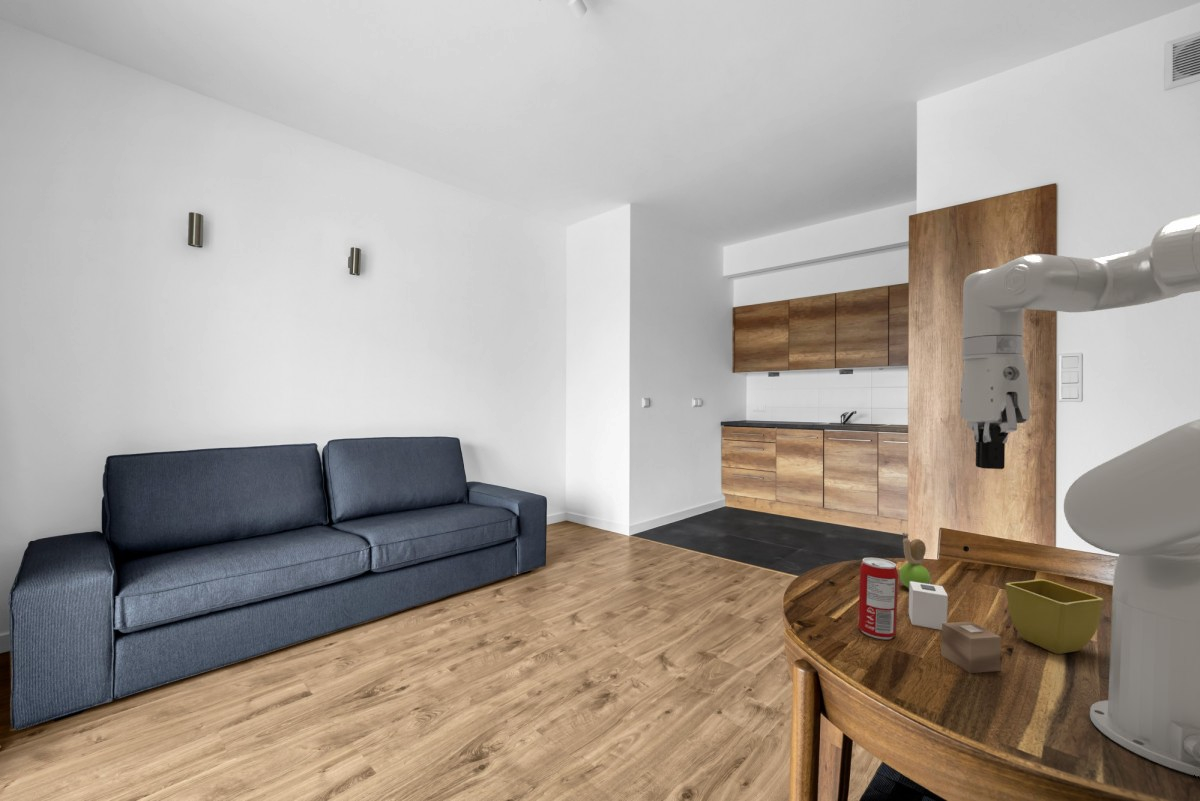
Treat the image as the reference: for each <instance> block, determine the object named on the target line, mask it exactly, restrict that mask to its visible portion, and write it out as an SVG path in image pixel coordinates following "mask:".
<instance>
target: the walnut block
mask: <svg viewBox="0 0 1200 801" xmlns="http://www.w3.org/2000/svg"><path fill="white" fill-rule="evenodd" d="M940 642H941V646H940V648H941V649H940V656H941V657H943V658H945V659H946V660H948V661H949V662H951V663H953V664H954V665H956V666H958V667H959V668H962V669H963V670H965V671H966V672H968V673H969V674H973V673H975V674H977V673H986V672H988V673H989V672H999V671H1001V655H1002V654H1001V650H1002V648H1001V647H1002V636H1000V635H998V634H996V633H994V632H992V631H990V630H988V629H986V628H984V627H982V626H981V625H978V624H976V623H975V622H972V621H959V622H958V621H956V622H947V623H942V630H941V641H940Z"/></svg>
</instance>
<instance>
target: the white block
mask: <svg viewBox="0 0 1200 801" xmlns="http://www.w3.org/2000/svg"><path fill="white" fill-rule="evenodd" d="M948 598H949V596H948V593H947V592H946V590H945V588H944V587H943V585H936V584H931V583H930V584H925V583H919V582H913V581H910V586H909V588H908V615H909V616H908V618H909V619H910V623H911V625H912V626H913V625H914V626H918V627H924V628H929V629H934V630H940V631H942V623H948Z"/></svg>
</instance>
